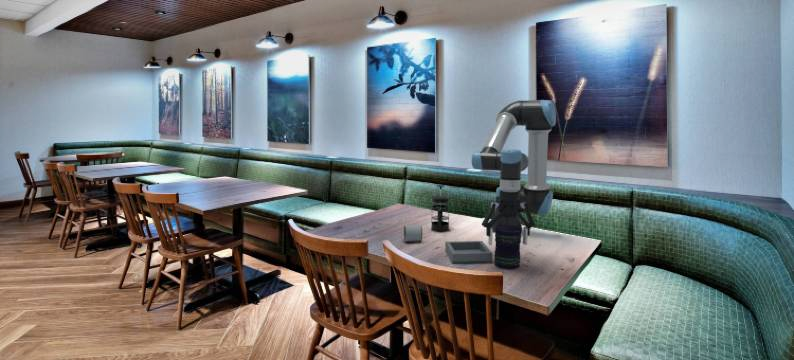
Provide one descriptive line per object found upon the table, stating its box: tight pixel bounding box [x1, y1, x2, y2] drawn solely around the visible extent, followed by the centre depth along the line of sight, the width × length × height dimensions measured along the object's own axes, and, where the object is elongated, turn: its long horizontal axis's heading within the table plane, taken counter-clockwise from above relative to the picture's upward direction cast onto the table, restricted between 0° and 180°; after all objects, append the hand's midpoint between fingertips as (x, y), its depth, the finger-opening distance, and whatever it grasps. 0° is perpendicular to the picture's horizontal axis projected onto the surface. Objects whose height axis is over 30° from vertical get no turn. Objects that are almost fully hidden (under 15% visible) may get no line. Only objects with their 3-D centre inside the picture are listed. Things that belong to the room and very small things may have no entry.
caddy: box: [444, 240, 493, 264], centre depth 172 cm, size 16×16×4 cm
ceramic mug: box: [403, 224, 424, 243], centre depth 195 cm, size 11×8×8 cm
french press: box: [430, 184, 450, 233], centre depth 211 cm, size 12×9×23 cm
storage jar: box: [493, 225, 522, 271], centre depth 161 cm, size 10×10×15 cm
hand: (507, 244), depth 161 cm, fingers open, 13 cm apart
